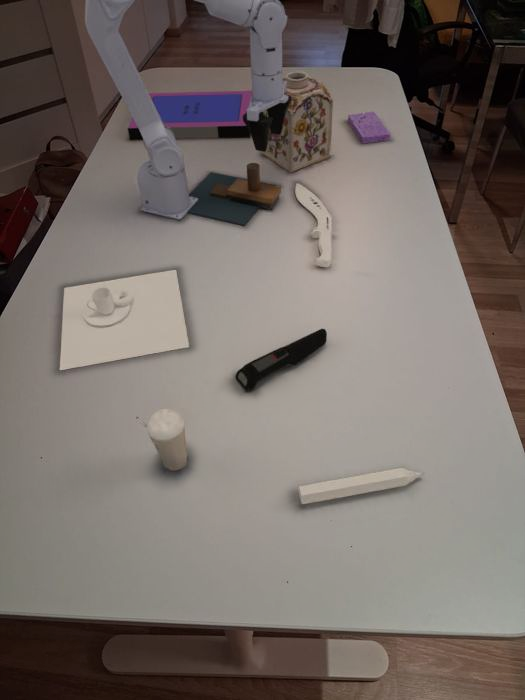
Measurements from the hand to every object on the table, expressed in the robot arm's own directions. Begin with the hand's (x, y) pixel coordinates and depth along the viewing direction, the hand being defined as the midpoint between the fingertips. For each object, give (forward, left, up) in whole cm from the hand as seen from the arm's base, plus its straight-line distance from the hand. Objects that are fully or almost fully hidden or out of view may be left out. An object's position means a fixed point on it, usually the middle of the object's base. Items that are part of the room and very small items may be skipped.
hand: (268, 141), depth 109 cm
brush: (-1, -6, -10) cm, 12 cm away
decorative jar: (0, +15, -11) cm, 18 cm away
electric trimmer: (+22, -46, -11) cm, 52 cm away
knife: (+13, -9, -11) cm, 19 cm away
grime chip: (-8, -6, -10) cm, 14 cm away
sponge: (+12, +33, -11) cm, 37 cm away
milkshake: (+15, -67, -11) cm, 69 cm away
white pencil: (+39, -61, -11) cm, 73 cm away
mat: (-7, -7, -10) cm, 14 cm away
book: (-32, +24, -11) cm, 41 cm away
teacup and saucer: (-7, -46, -11) cm, 48 cm away
